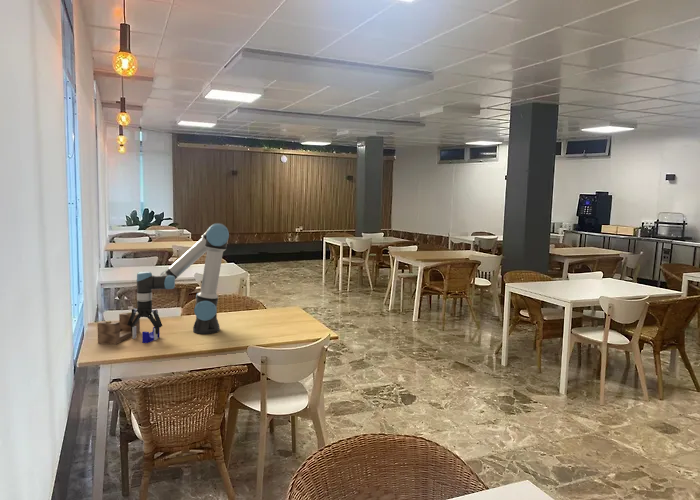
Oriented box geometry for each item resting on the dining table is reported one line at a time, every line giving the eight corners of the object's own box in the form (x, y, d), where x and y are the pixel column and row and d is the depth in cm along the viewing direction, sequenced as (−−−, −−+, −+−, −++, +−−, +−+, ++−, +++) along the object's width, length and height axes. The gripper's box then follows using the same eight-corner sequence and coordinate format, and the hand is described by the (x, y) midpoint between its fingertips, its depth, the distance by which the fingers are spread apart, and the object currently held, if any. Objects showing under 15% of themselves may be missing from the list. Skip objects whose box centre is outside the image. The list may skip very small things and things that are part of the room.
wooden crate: (139, 332, 290) (139, 312, 289) (115, 344, 267) (115, 322, 265) (123, 331, 291) (123, 311, 290) (97, 343, 268) (97, 321, 267)
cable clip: (152, 336, 283) (152, 326, 282) (159, 337, 282) (159, 326, 282) (139, 342, 271) (139, 331, 271) (147, 343, 271) (147, 332, 270)
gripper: (168, 299, 277) (169, 338, 279) (127, 297, 280) (128, 335, 282) (161, 302, 270) (162, 342, 272) (119, 300, 273) (120, 339, 275)
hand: (145, 338), depth 277 cm, fingers open, 12 cm apart
